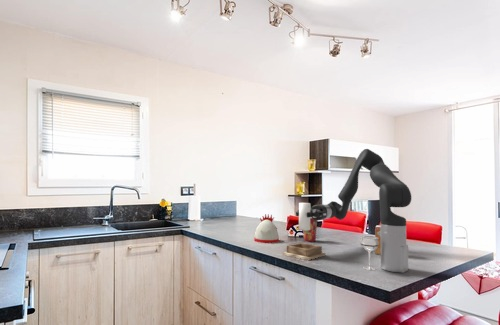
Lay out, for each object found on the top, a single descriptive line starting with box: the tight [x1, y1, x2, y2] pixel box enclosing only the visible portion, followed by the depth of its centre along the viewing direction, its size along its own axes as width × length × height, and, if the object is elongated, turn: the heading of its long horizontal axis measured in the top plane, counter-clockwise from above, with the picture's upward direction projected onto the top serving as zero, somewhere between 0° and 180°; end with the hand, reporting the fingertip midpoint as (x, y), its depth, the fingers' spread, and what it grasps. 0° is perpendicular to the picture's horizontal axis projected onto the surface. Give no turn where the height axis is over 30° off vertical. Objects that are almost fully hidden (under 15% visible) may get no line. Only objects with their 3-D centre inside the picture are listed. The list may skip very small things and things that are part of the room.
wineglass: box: [360, 235, 379, 271], centre depth 122 cm, size 7×7×12 cm
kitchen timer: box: [253, 213, 280, 244], centre depth 176 cm, size 14×14×15 cm
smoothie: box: [302, 205, 318, 243], centre depth 177 cm, size 8×8×20 cm
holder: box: [282, 242, 327, 261], centre depth 142 cm, size 14×14×4 cm
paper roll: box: [298, 202, 311, 231], centre depth 143 cm, size 5×5×12 cm
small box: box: [374, 224, 381, 256], centre depth 148 cm, size 8×6×13 cm
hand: (302, 214), depth 142 cm, fingers closed on paper roll, 5 cm apart
